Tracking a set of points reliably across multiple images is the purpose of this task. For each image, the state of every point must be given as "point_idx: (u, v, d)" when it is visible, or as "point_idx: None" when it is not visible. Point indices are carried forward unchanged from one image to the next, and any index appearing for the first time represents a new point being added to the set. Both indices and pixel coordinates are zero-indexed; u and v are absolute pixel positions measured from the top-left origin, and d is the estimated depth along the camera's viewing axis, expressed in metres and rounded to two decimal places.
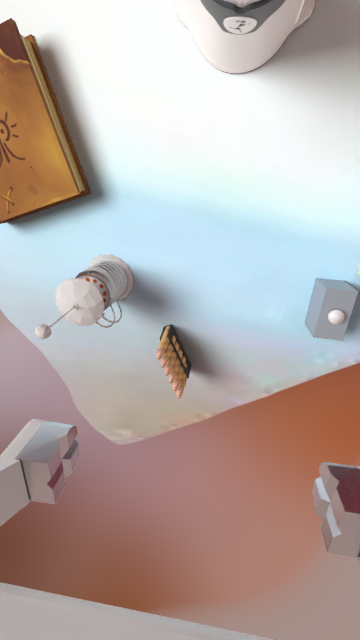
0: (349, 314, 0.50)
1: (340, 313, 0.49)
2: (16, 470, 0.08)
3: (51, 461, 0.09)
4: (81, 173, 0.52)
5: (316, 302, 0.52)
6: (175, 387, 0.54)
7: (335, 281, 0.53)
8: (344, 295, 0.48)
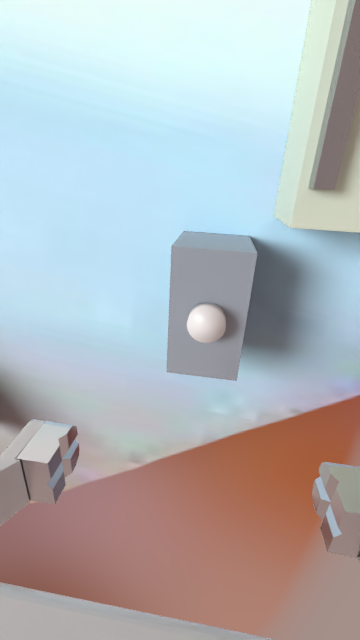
0: (243, 317, 0.19)
1: (213, 315, 0.18)
2: (16, 470, 0.08)
3: (51, 461, 0.09)
4: None
5: None
6: None
7: (223, 236, 0.22)
8: (222, 265, 0.18)
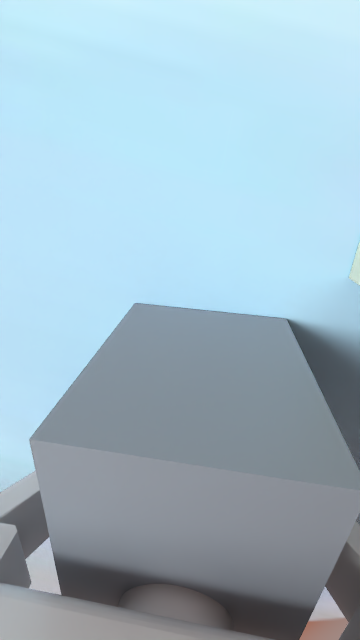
0: (289, 630, 0.06)
1: None
2: None
3: None
4: None
5: None
6: None
7: (226, 325, 0.09)
8: (222, 510, 0.05)
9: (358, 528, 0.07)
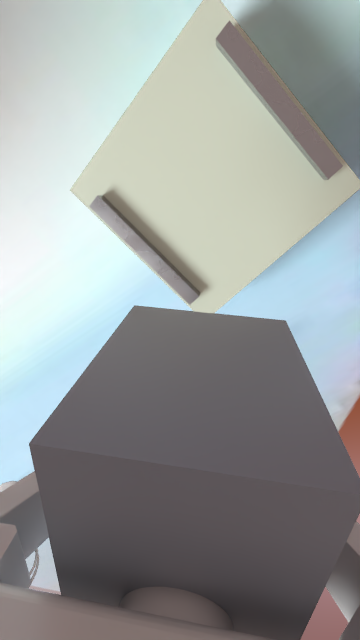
0: (289, 633, 0.06)
1: None
2: None
3: None
4: None
5: None
6: None
7: (225, 327, 0.09)
8: (221, 514, 0.05)
9: (358, 528, 0.07)
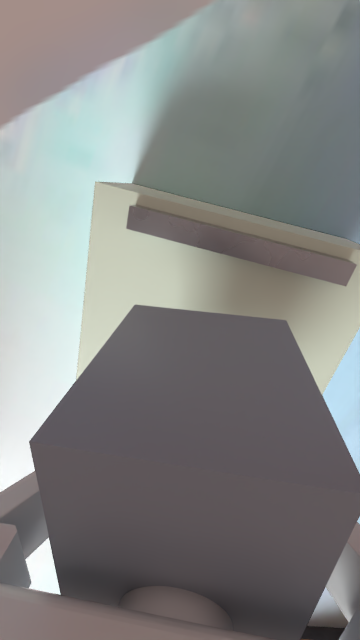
0: (289, 632, 0.06)
1: None
2: None
3: None
4: None
5: None
6: None
7: (226, 326, 0.09)
8: (222, 513, 0.05)
9: (358, 528, 0.07)
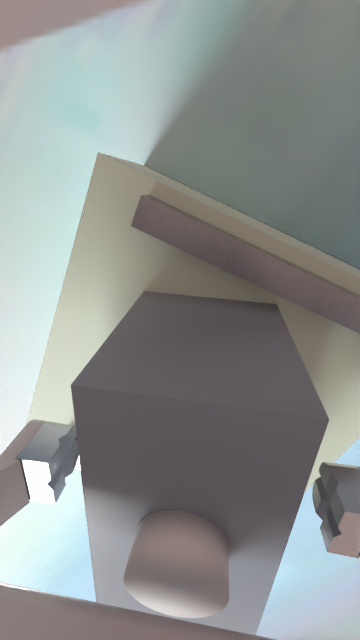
0: (274, 548, 0.07)
1: (193, 573, 0.06)
2: (16, 470, 0.08)
3: (51, 461, 0.09)
4: None
5: None
6: None
7: (223, 308, 0.10)
8: (219, 440, 0.06)
9: None
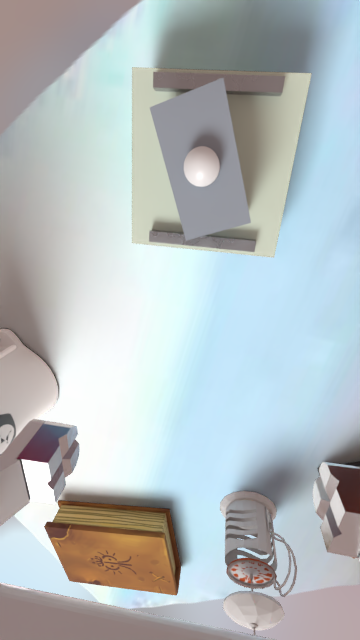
0: (233, 150, 0.20)
1: (203, 152, 0.19)
2: (16, 470, 0.08)
3: (51, 461, 0.09)
4: (151, 510, 0.56)
5: None
6: None
7: None
8: (197, 105, 0.19)
9: None
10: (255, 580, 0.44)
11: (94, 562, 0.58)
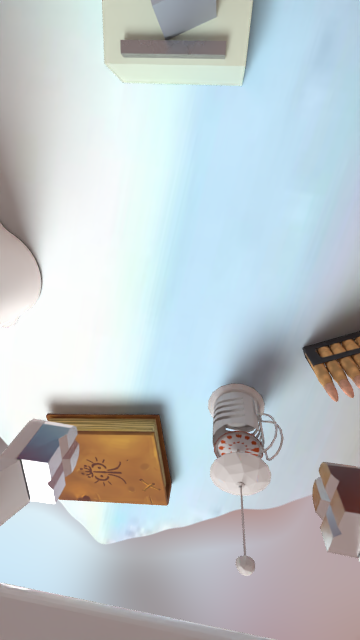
0: None
1: None
2: (16, 470, 0.08)
3: (51, 461, 0.09)
4: (141, 417, 0.55)
5: None
6: None
7: None
8: None
9: None
10: None
11: (83, 473, 0.57)
